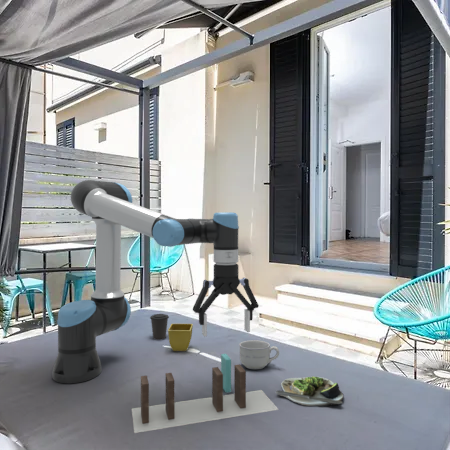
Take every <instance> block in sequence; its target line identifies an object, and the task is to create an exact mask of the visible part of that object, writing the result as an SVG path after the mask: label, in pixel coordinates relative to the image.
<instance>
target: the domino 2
mask: <svg viewBox="0 0 450 450" xmlns="http://www.w3.org/2000/svg"><path fill="white" fill-rule="evenodd" d="M175 395H176V394H175V378H174V376H173V373H172V372H166V373H165V404H166V413H167V417H168V420H170V419H175V402H176V400H175Z"/></svg>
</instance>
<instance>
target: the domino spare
mask: <svg viewBox="0 0 450 450" xmlns="http://www.w3.org/2000/svg"><path fill="white" fill-rule="evenodd" d="M220 371H221V372H222V374H223V392H225V393H227V394H228V393H231V392H232V359H231V357H230V356H228V354H227V353H221V354H220Z"/></svg>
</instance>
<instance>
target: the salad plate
mask: <svg viewBox="0 0 450 450" xmlns="http://www.w3.org/2000/svg"><path fill="white" fill-rule="evenodd" d="M280 386H281V389H282V390H275V394H276V395H278V396H281V397H284V398H286V399H288V400H290V401H292V402H294V403H295V404H298V405H301V406H306V407H307V406H309V407H312V406H313V407H314V406H317V407H321V406H324V407H327V406H328V407H329V406H337V405H341V404H344V403H343V399H344V394H343V392H342V391H341V389H340V386H339V384H338V382H333V381H332V380H330V379H329V378H326V377H321V376H312V375H311V376H306V377H288V378H286V379H284V380H283V381H281V383H280Z"/></svg>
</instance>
